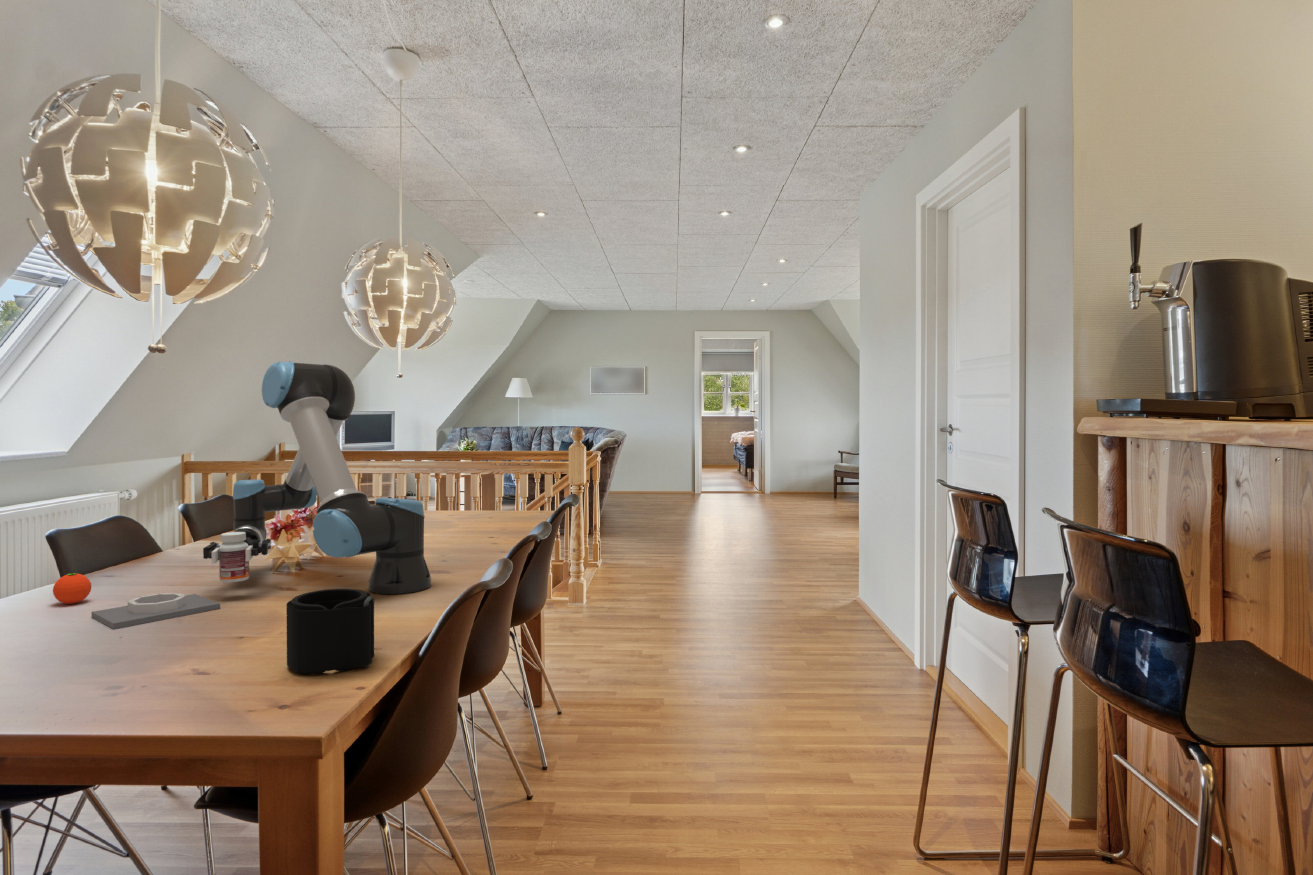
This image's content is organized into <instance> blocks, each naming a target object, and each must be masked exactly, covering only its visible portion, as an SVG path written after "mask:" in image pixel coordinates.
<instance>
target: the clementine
mask: <svg viewBox="0 0 1313 875" xmlns="http://www.w3.org/2000/svg"><path fill="white" fill-rule="evenodd" d="M91 591H92V583H91V581H90V579H89V578H88V577H87V576H86V575H84V574H81V573H74V572H73V573H72V572H71V573H67V574H65V575H63V576H61V577H60V578H58V579H57V581H55V583H54V585H53V586H52V595H53V596H54V598H55V599H56V601H58V602H59V603H60V602H61V603H63V604H67V605H71V604H72V605H73V604H77V603H80V602H82V601H83V600H85V599H86V598H88V596H89V595H90V593H91Z"/></svg>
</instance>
